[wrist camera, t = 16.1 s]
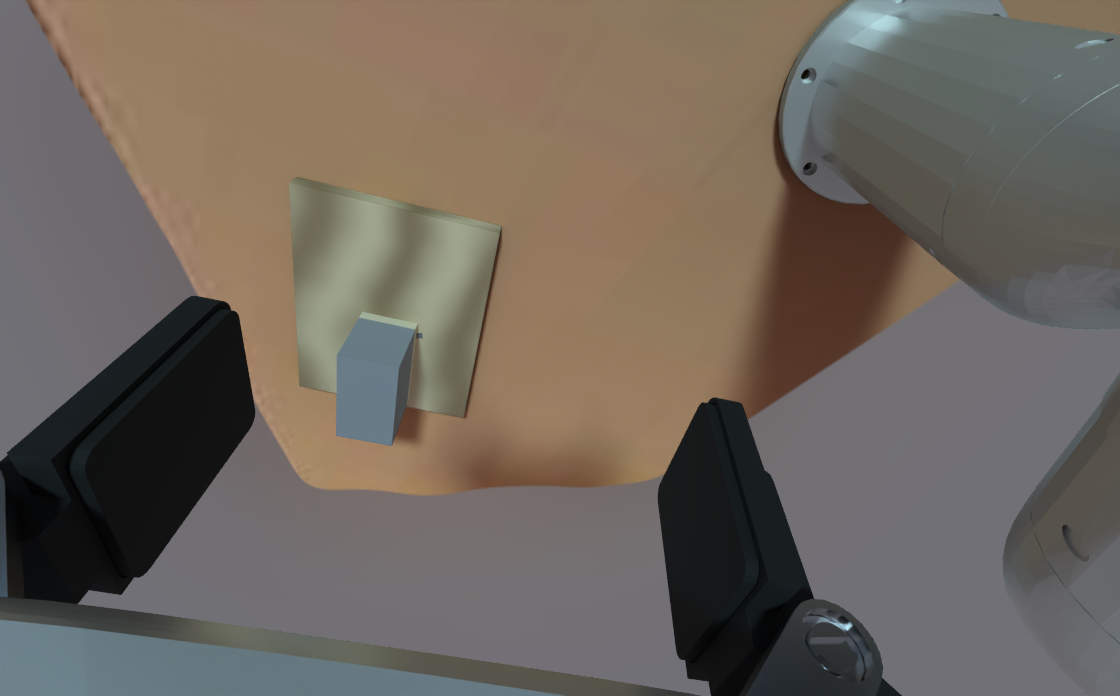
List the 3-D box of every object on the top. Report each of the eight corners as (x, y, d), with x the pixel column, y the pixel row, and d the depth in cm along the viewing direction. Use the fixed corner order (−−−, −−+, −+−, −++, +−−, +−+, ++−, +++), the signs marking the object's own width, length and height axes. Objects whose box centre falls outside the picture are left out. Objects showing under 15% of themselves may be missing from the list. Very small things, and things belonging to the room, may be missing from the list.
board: (501, 226, 38) (499, 233, 37) (465, 408, 48) (463, 417, 47) (296, 177, 36) (289, 183, 35) (305, 377, 47) (299, 386, 46)
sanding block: (417, 323, 42) (399, 367, 37) (409, 398, 46) (391, 446, 42) (362, 311, 41) (336, 355, 37) (359, 389, 46) (336, 435, 41)
